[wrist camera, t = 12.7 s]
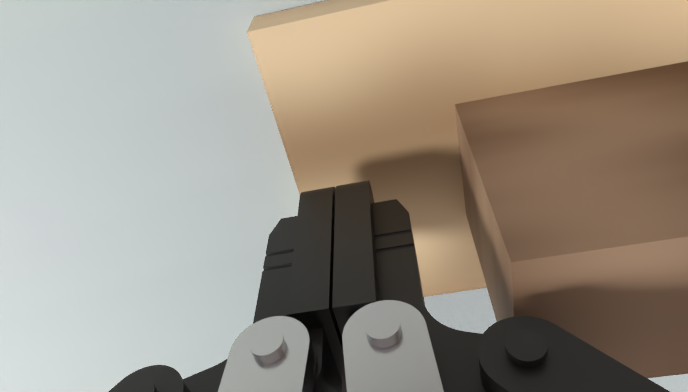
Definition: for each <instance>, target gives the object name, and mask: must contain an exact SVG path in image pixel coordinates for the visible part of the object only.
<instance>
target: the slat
mask: <svg viewBox="0 0 688 392" xmlns="http://www.w3.org/2000/svg"><path fill="white" fill-rule="evenodd" d="M455 113H456V122H457V132H458V142H459V151H460V161H461V170H462V180H463V190H464V199H465V209H466V216H467V220H468V223H469V226H470V230H471V233H472V237H473V240H474V244H475V247H476V251H477V254H478V258H479V261H480V265H481V268H482V272H483V275H484V279H485V282H486V285H487V289H488V292H489V296H490V299H491V303H492V306H493V310H494V313H495V317H496V320H497V322H498V321H500V320H503V319H506V318H509V317H515V316H532V317H537V318H541V319H544V320H547V321H549V322H551V323H553V324H555V325H557V326H559V327H560V328H562V329H564V330H566V331H567V332H569V333H571V334H572V335H574V336H576V337H577V338H579V339H581V340H583V341H584V342H586V343H588V344H589V345H591V346H593V347H595V348H596V349H598V350H600V351H601V352H603V353H605V354H606V355H608V356H610V357H612V358H613V359H615V360H617V361H618V362H620V363H622V364H623V365H625V366H627V367H629V368H630V369H632V370H634V371H635V372H637V373H639V374H641V375H642V376H644V377H646V378H653V377H661V376H670V375H679V374H687V373H688V61H687V62H681V63H676V64H671V65H665V66H660V67H654V68H649V69H643V70H638V71H633V72H627V73H622V74H616V75H611V76H605V77H600V78H595V79H589V80H584V81H578V82H573V83H567V84H562V85H557V86H551V87H546V88H540V89H535V90H529V91H524V92H519V93H513V94H508V95H502V96H497V97H491V98H486V99H481V100H475V101H470V102H464V103H459V104H455Z"/></svg>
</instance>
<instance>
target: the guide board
mask: <svg viewBox="0 0 688 392" xmlns="http://www.w3.org/2000/svg"><path fill="white" fill-rule="evenodd" d="M247 34H248V37H249V40H250V43H251V46H252V49H253V52H254V55H255V58H256V62H257V65H258V68H259V71H260V74H261V77H262V80H263V83H264V86H265V89H266V92H267V95H268V98H269V101H270V105H271V108H272V111H273V114H274V117H275V120H276V123H277V126H278V129H279V132H280V135H281V138H282V141H283V144H284V147H285V151H286V154H287V157H288V160H289V163H290V166H291V169H292V172H293V175H294V178H295V181H296V184H297V187H298V190H299V194H301V192H305V191H311V190H317V189H323V188H328V187H335V188H336V186H339V185H345V184H350V183H356V182H362V181H368V180H369V181H370V185H371V189H372V193H373V198H374V202H375V203H376V202H382V201H388V200H394V199H397V200H398V201H399V202H400V203H401V204H402V205H403V206H404V208H405V209H406V210H407V211H408V212H409V216H410V222H411V227H412V233H413V238H414V244H415V249H416V255H417V261H418V266H419V273H420V279H421V285H422V291H423V297H426V296H433V295H440V294H447V293H453V292H460V291H467V290H474V289H480V288H487V285H486V282H485V279H484V275H483V272H482V268H481V265H480V261H479V258H478V254H477V251H476V247H475V244H474V240H473V237H472V233H471V230H470V226H469V223H468V220H467V216H466V209H465V199H464V190H463V180H462V170H461V161H460V151H459V142H458V132H457V122H456V113H455V104H459V103H464V102H470V101H475V100H481V99H486V98H491V97H497V96H502V95H508V94H513V93H519V92H524V91H529V90H535V89H540V88H546V87H551V86H557V85H562V84H567V83H573V82H578V81H584V80H589V79H595V78H600V77H605V76H611V75H616V74H622V73H627V72H633V71H638V70H643V69H649V68H654V67H660V66H665V65H671V64H676V63H681V62H687V61H688V0H327V1H322V2H318V3H313V4H309V5H304V6H300V7H296V8H291V9H287V10H282V11H278V12H273V13H269V14H265V15H260V16H256V17H254V18H253V20H252V23H251V25H250V27H249V29H248V31H247Z"/></svg>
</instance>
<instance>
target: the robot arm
mask: <svg viewBox="0 0 688 392" xmlns="http://www.w3.org/2000/svg"><path fill="white" fill-rule="evenodd" d="M263 268H264V271H263V272H262V278H261V283H260V289H259V294H258V300H257V305H256V311H255V316H254V322H253V324H252V325H250V326H249V327H248V328H246V329H245V330H244V331H243V332H242V333H241V334H240V335H239V336H238V337H237V339H236V340H235V342H234V343H233V345H232V347H231V350H230V353H229V356H228V359H226V360H225V361H223V362H222V363H220V364H218V365H216V366H214V367H211V368H209V369H206V370H204V371H202V372H199V373H197V374H195V375H192V376H190V377H188V378H185V379H182V377H181V376H180V374H179V373H178V372H177V371H176V370H175V369H173V368H171V367H169V366H165V365H154V366H149V367H145V368H142V369H140V370H137V371H135V372H133V373H132V374H130V375H128V376H127V377H125V378H124V379H123V380H122V381H120V382H119V383H118V384H117V385H116V386H115V387H113V388H112V389H111V390H110V391H109V392H669V391H668V390H666V389H664V388H663V387H661V386H659V385H658V384H656V383H654V382H652V381H651V380H649V379H647V378H646V377H644V376H642V375H641V374H639V373H637V372H635V371H634V370H632V369H630V368H629V367H627V366H625V365H623V364H622V363H620V362H618V361H617V360H615V359H613V358H612V357H610V356H608V355H606V354H605V353H603V352H601V351H600V350H598V349H596V348H595V347H593V346H591V345H589V344H588V343H586V342H584V341H583V340H581V339H579V338H577V337H576V336H574V335H572V334H571V333H569V332H567V331H566V330H564V329H562V328H560V327H559V326H557V325H555V324H553V323H551V322H549V321H547V320H544V319H541V318H537V317H532V316H515V317H509V318H506V319H503V320H500V321H498V322H496V323H494V324H493V325H492V326H490V327H489V328H488V329H487V330H486V331H485V332H484V334H479V333H471V332H464V331H459V330H455V329H452V328H449V327H447V326H445V325H443V324H441V323H439V322H438V321H436V320H435V319H434V318H433V317H432V316H431V315H430V314H429V312H428V311H427V309H426V307H425V303H424V297H423V291H422V285H421V279H420V273H419V266H418V261H417V255H416V249H415V244H414V238H413V233H412V227H411V222H410V216H409V212H408V211H407V210H406V209H405V208H404V206H403V205H402V204H401V203H400V202H399V201H398V200H397V199H394V200H388V201H382V202H376V203H375V202H374V198H373V193H372V189H371V185H370V181H369V180H368V181H362V182H356V183H350V184H345V185H339V186H336V188H335V187H328V188H323V189H317V190H311V191H305V192H301V194H300V201H299V209H298V216H295V217H289V218H283V219H281V220H280V221H279V223H278V224H277V225H276V227H275V228H274V229H273V231H272V232H271V234H270V235H269V239H268V245H267V250H266V257H265V261H264V267H263Z"/></svg>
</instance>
